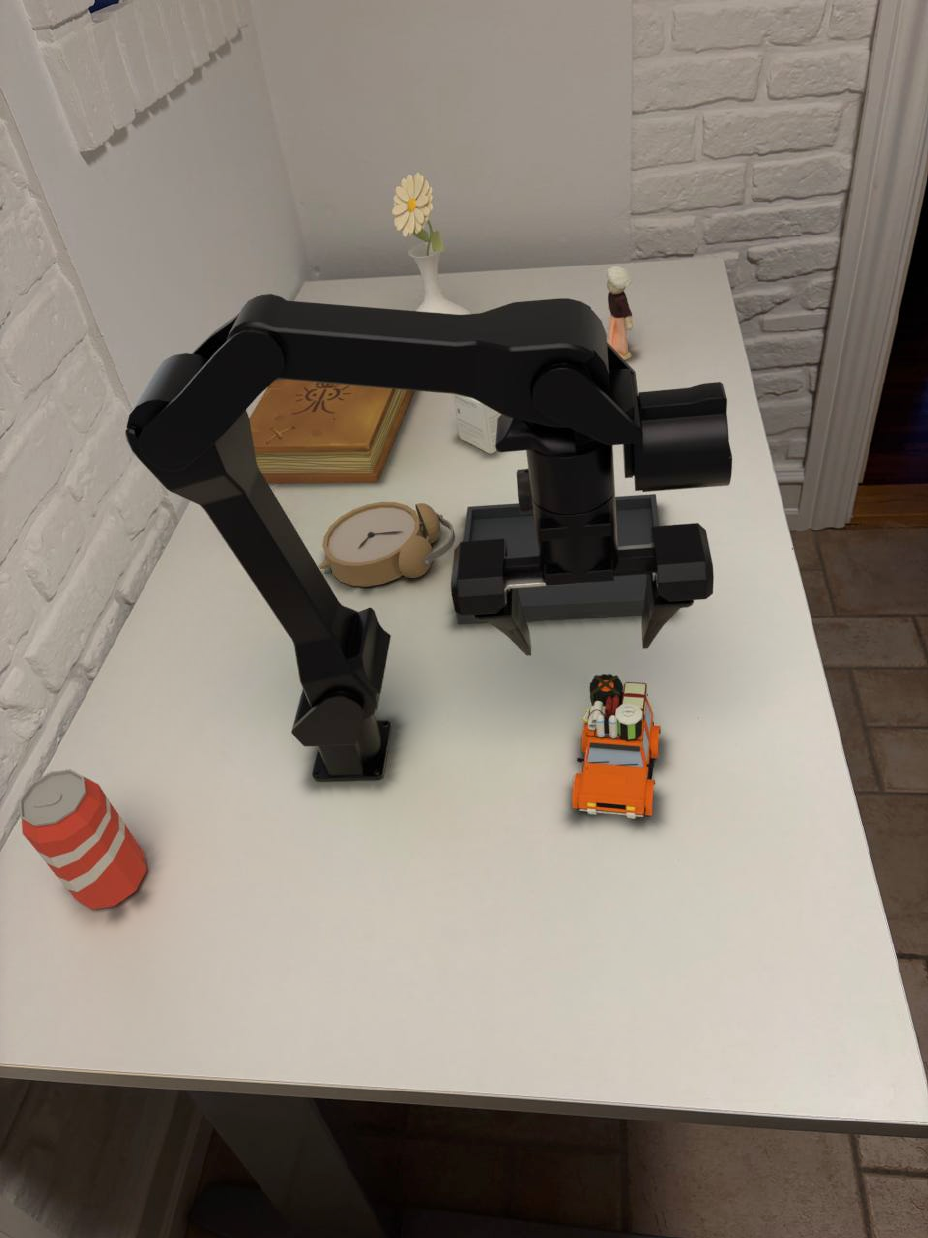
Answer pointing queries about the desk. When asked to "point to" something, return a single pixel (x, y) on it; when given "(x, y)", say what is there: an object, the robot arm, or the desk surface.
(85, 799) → the beverage can
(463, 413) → the product box
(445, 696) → the desk surface
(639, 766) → the toy car
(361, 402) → the diary
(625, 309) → the grandmother figurine
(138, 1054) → the desk surface
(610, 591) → the tray
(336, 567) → the alarm clock
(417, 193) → the flower in vase
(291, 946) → the desk surface
